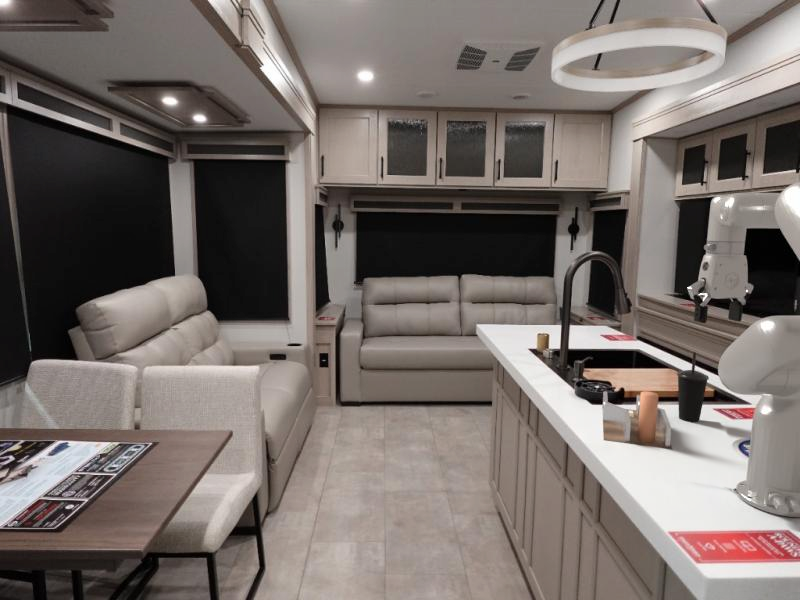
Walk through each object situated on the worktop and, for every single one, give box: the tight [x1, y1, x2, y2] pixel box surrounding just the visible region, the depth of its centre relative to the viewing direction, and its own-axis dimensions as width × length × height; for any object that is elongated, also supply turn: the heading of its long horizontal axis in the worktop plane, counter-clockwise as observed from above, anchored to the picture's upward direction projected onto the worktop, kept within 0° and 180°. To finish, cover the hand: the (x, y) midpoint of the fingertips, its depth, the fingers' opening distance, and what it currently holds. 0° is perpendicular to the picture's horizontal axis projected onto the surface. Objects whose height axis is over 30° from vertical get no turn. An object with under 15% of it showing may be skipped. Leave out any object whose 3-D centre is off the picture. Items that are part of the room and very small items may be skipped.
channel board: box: [601, 405, 673, 450], centre depth 139 cm, size 26×16×1 cm, turn 159°
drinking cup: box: [676, 352, 710, 423], centre depth 143 cm, size 8×8×20 cm
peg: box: [637, 390, 659, 443], centre depth 129 cm, size 4×4×12 cm
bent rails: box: [602, 390, 672, 448], centre depth 139 cm, size 24×15×5 cm, turn 159°
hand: (717, 321), depth 123 cm, fingers open, 9 cm apart
